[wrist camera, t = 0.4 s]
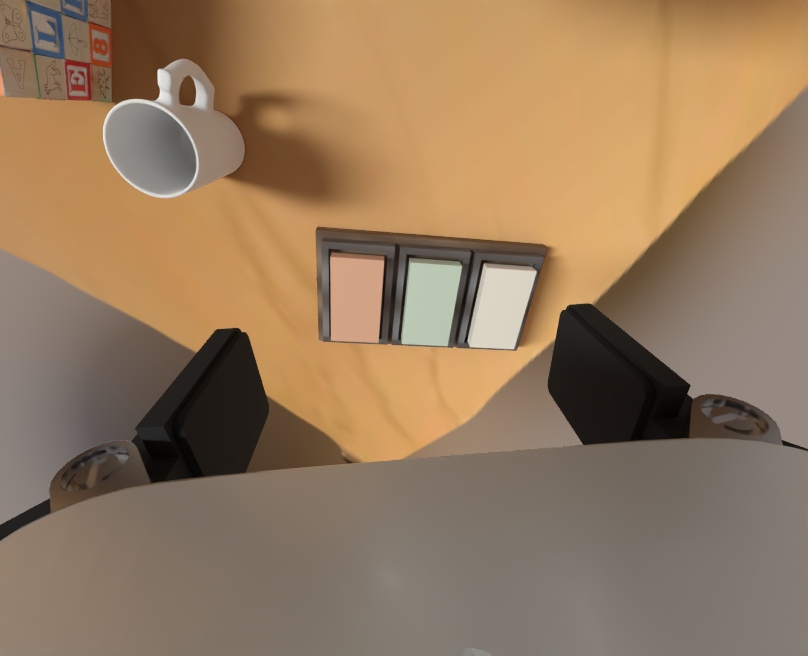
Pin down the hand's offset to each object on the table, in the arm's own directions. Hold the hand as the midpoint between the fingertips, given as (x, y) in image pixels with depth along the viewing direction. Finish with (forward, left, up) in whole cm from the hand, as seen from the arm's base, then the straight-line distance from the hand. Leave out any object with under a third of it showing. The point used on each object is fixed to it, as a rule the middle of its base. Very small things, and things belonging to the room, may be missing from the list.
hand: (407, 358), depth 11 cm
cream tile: (+13, +15, -31) cm, 37 cm away
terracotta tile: (+13, -3, -32) cm, 34 cm away
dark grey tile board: (+13, +6, -35) cm, 37 cm away
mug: (-4, -18, -35) cm, 39 cm away
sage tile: (+13, +6, -32) cm, 35 cm away
